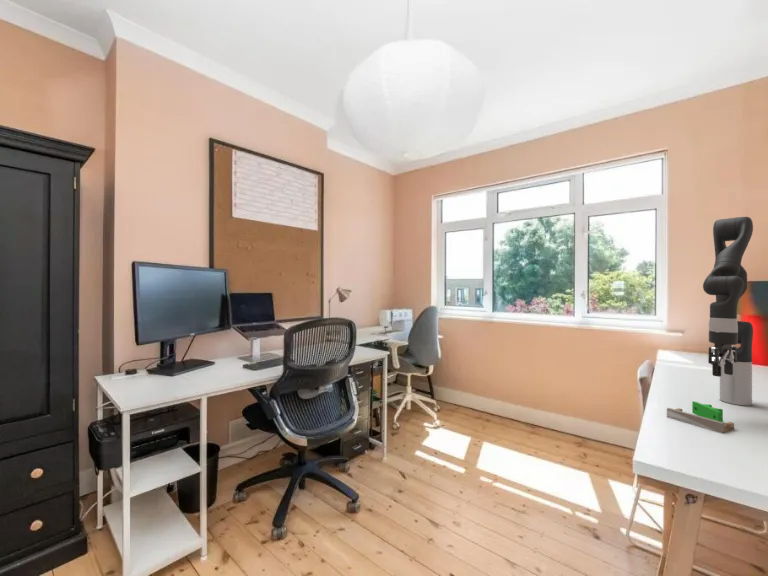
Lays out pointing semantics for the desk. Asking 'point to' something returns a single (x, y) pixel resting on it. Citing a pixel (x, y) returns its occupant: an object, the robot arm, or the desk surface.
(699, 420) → the channel stop
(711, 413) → the pipe clamp
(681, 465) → the desk surface
